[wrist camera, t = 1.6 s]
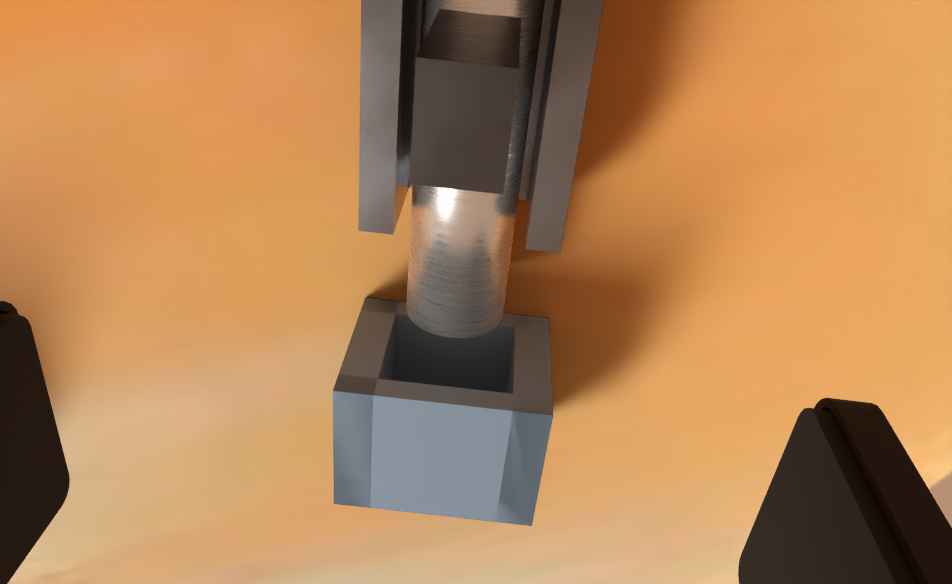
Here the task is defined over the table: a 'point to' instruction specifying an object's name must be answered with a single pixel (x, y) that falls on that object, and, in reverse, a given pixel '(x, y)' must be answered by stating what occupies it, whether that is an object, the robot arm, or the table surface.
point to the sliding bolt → (468, 158)
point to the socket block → (442, 417)
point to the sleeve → (550, 123)
